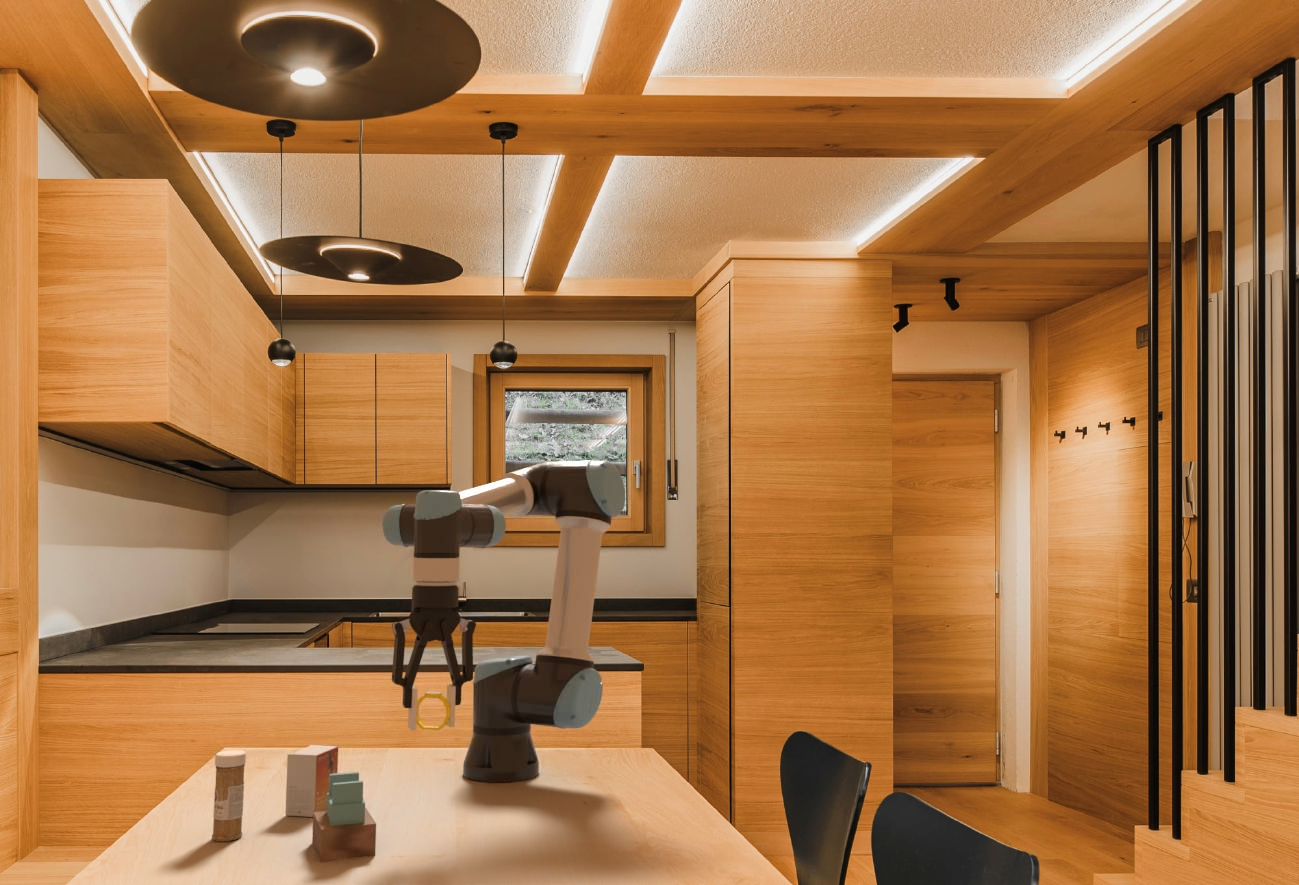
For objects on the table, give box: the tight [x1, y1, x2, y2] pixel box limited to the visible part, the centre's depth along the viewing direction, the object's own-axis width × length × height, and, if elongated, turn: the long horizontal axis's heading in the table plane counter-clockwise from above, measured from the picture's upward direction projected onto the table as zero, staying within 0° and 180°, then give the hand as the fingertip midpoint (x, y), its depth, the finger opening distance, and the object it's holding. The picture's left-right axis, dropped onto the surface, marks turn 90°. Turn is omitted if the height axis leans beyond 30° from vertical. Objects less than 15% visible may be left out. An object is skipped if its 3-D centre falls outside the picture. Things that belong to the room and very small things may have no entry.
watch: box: [416, 690, 451, 731], centre depth 166 cm, size 6×3×6 cm, turn 80°
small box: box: [285, 744, 339, 818], centre depth 179 cm, size 8×6×10 cm
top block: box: [326, 771, 366, 826], centre depth 158 cm, size 5×8×6 cm, turn 22°
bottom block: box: [311, 806, 377, 863], centre depth 158 cm, size 8×10×5 cm
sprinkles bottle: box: [211, 749, 247, 842], centre depth 163 cm, size 5×5×14 cm
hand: (431, 726), depth 166 cm, fingers closed on watch, 5 cm apart
